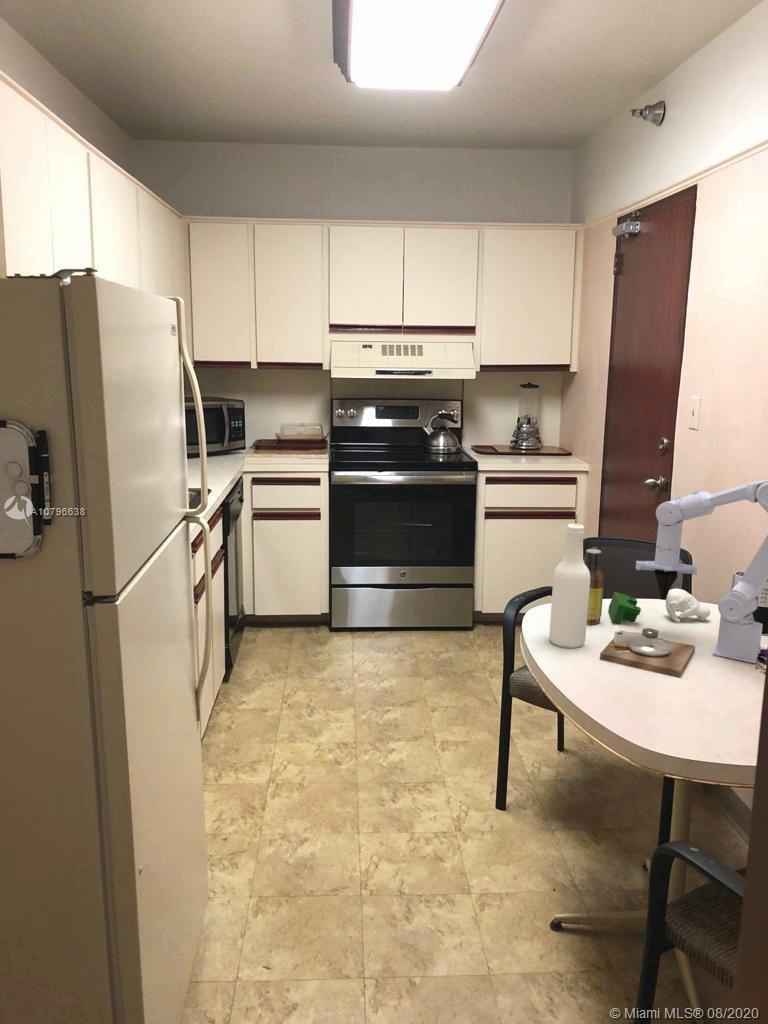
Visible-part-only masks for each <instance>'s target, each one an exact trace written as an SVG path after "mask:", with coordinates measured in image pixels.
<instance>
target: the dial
mask: <svg viewBox="0 0 768 1024" xmlns="http://www.w3.org/2000/svg"><path fill="white" fill-rule="evenodd" d="M658 637H659V631H658V630H657V629H654V628H650V627H649V628H648V627H645V628H643V629H642V631H641V632H635V631H634V632H633V631H626V632H620V631H617V630H615V631H614V635H613V638H614V642H615V644H616V645H627V647H628V649H630V650H631V651H633V652H635V653H638V654H641V655H646V656H653V657H660V656H666V655H669V654H670V653H671V646H670V644H668V643H667V642H665V641H663V640H660V639H661V638H660V639H656V638H658Z"/></svg>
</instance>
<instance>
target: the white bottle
mask: <svg viewBox="0 0 768 1024" xmlns="http://www.w3.org/2000/svg"><path fill="white" fill-rule="evenodd" d="M566 528H567V529H566V539H565V544H564V545H565V546H564V552H563V558H562V559H561V562H560V563H559V564H557V566H556V567H555V569H554V572H553V577H552V591H551V592H552V593H551V603H550V605H551V607H550V622H549V633H548V634H549V635H548V638H549V640H550V642H551V643H552V644H553V645H554V644H555V646H557V647H559V646H561V647H560V648H564V647H565V649H577V648H581V647H582V646H583V645H584V644H585V642H586V638H587V637H586V635H587V627H588V626H587V613H588V601H589V589H590V572H589V570H588V568H587V566H586V565H585V564H586V563H585V561H584V533H585V531H584V529H585V526H584V525H582V524H579V523H570V524H568V525H567V526H566Z"/></svg>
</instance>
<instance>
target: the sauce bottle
mask: <svg viewBox="0 0 768 1024" xmlns="http://www.w3.org/2000/svg"><path fill="white" fill-rule="evenodd" d="M602 554H603V553H602V551H601V550H600V549H597V548H590V549H589V548H588V549H586V550H585V563H584V564H585V565H586V566H587V568H588V570H589V572H590V589H589V601H588V613H587V624H588V625H597V624H599V623H600V622H601V617H602V612H603V611H602V609H603V596H604V579H605V578H604V574H603V571H602V570H601V558H602Z"/></svg>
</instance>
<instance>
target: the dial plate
mask: <svg viewBox="0 0 768 1024" xmlns="http://www.w3.org/2000/svg"><path fill="white" fill-rule="evenodd" d="M619 632H627V631H626V630H620V631H619ZM656 639H660V640H663V641H665V642H667V643H668V644H670V646H671V653H670V654H669V655H666V656H660V657H653V656H646V655H641V654H638V653H635V652H633V651H631V650H630V649H628V647H627V645H616V644H615V642H614V637H613V638H612V639H611V640H610V642H609V643H608V644H607V645H606V646H605V648H604V649H602V650H601V652H600V655H599V660H601V661H606V662H610V663H614V664H619V665H624V666H628V667H634V668H637V669H639V670H640V669H641V670H646V671H650V672H655V673H659V674H661V675H662V674H663V675H667V676H672V677H677V678H681V677H682V675H683V673H684V671H685V669H686V667H687V666H688V664H689V662H690V660H691V659H692V657H693V655H694V654H695V651H696V645H693V644H689V643H683V642H680V641H679V642H678V641H674V640H669V639H664V638H656Z"/></svg>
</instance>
